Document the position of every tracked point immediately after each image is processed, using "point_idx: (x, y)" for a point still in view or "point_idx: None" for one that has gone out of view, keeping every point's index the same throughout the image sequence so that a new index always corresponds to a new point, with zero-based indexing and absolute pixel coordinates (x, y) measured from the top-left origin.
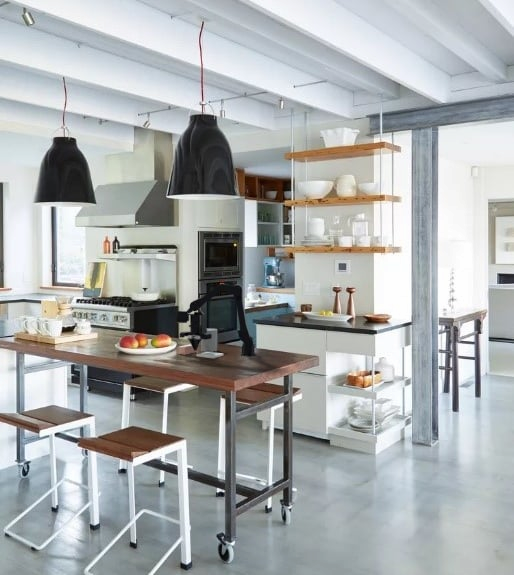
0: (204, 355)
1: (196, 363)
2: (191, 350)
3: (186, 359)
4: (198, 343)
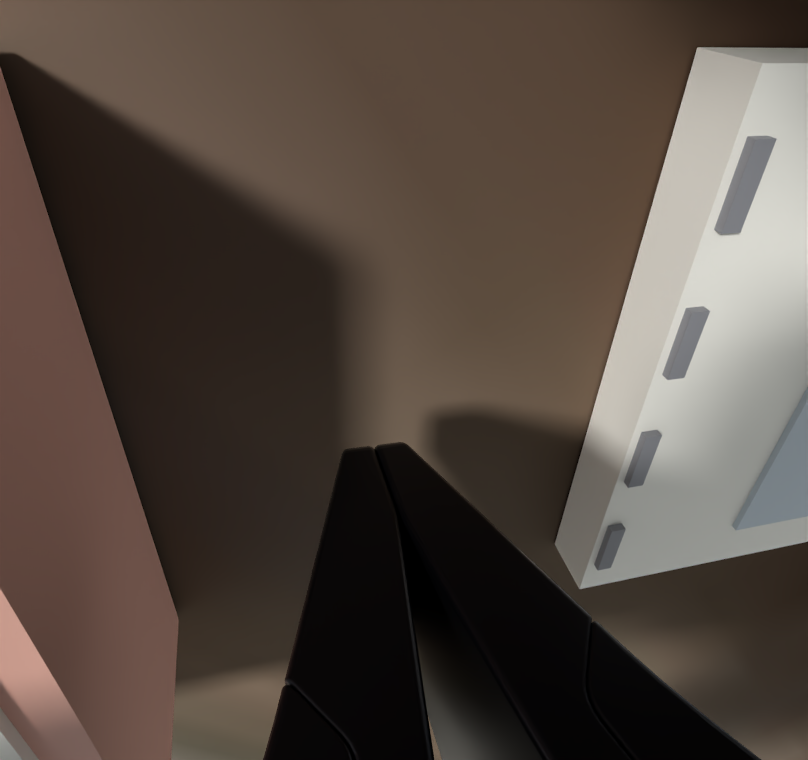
0: (780, 537)
1: (747, 744)
2: (79, 443)
3: None
4: (659, 738)
